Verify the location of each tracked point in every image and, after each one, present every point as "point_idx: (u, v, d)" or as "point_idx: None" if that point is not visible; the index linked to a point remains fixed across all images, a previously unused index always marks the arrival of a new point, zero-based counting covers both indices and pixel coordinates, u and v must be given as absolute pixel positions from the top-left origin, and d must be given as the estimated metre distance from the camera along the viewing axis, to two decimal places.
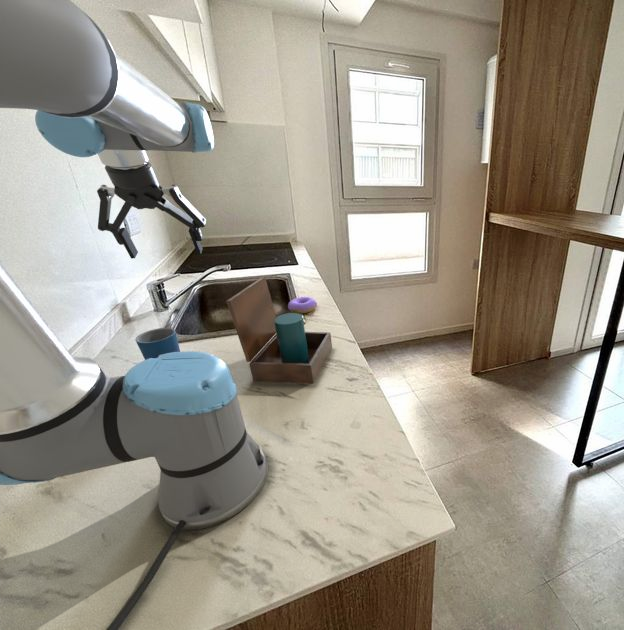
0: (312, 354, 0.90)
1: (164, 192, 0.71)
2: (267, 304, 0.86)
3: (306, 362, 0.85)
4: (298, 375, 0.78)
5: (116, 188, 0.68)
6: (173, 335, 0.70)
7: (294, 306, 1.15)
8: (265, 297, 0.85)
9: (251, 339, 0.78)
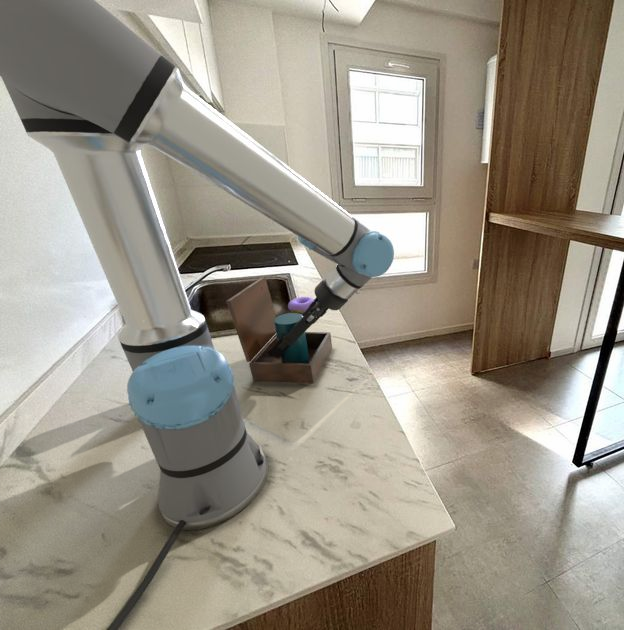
0: (312, 354, 0.90)
1: (313, 311, 0.75)
2: (267, 304, 0.86)
3: (306, 362, 0.85)
4: (298, 375, 0.78)
5: None
6: None
7: (294, 306, 1.15)
8: (265, 297, 0.85)
9: (251, 339, 0.78)
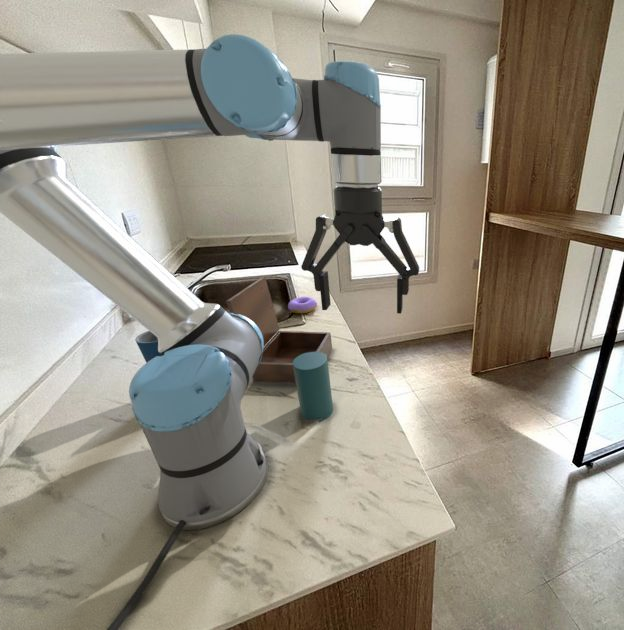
0: None
1: (385, 225, 0.54)
2: (267, 304, 0.86)
3: (330, 411, 0.70)
4: None
5: (336, 216, 0.53)
6: None
7: (294, 306, 1.15)
8: (265, 297, 0.85)
9: None
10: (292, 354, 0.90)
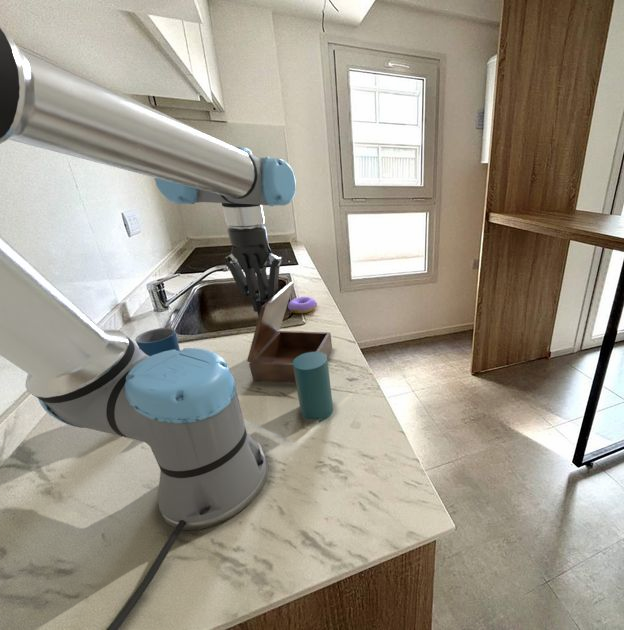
0: None
1: (269, 257, 0.74)
2: (283, 307, 0.86)
3: (330, 411, 0.70)
4: None
5: (233, 248, 0.73)
6: (173, 335, 0.70)
7: (294, 306, 1.15)
8: (285, 301, 0.85)
9: (260, 341, 0.78)
10: (292, 354, 0.90)
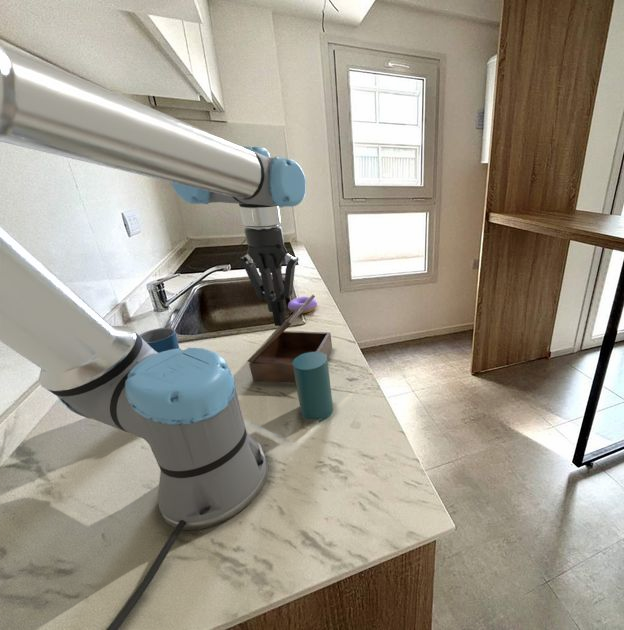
0: None
1: (285, 257, 0.74)
2: None
3: (330, 411, 0.70)
4: None
5: (249, 248, 0.73)
6: (173, 335, 0.70)
7: (294, 306, 1.15)
8: None
9: None
10: (292, 354, 0.90)
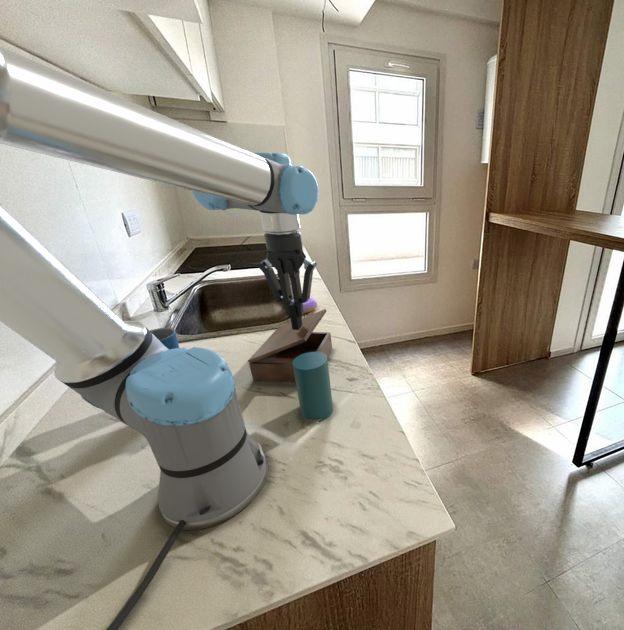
0: None
1: (304, 262, 0.75)
2: None
3: (330, 411, 0.70)
4: None
5: (268, 253, 0.73)
6: (173, 335, 0.70)
7: None
8: None
9: None
10: (292, 354, 0.90)
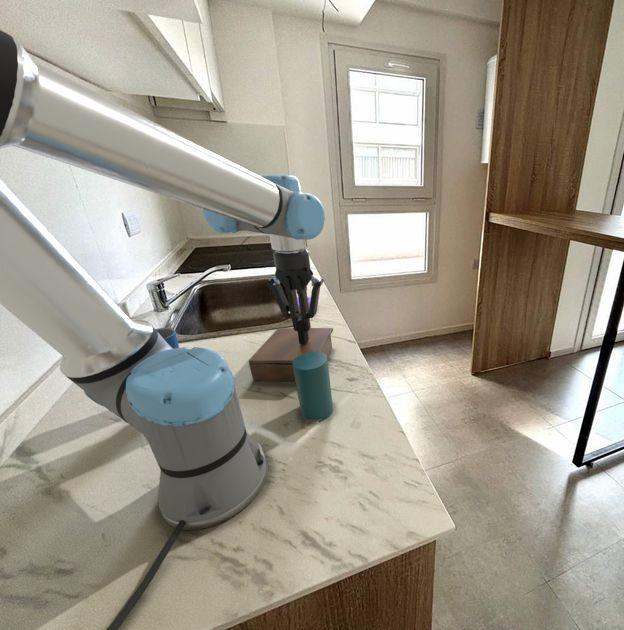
0: None
1: (311, 279, 0.76)
2: None
3: (330, 411, 0.70)
4: None
5: (277, 270, 0.75)
6: (173, 335, 0.70)
7: None
8: None
9: None
10: None
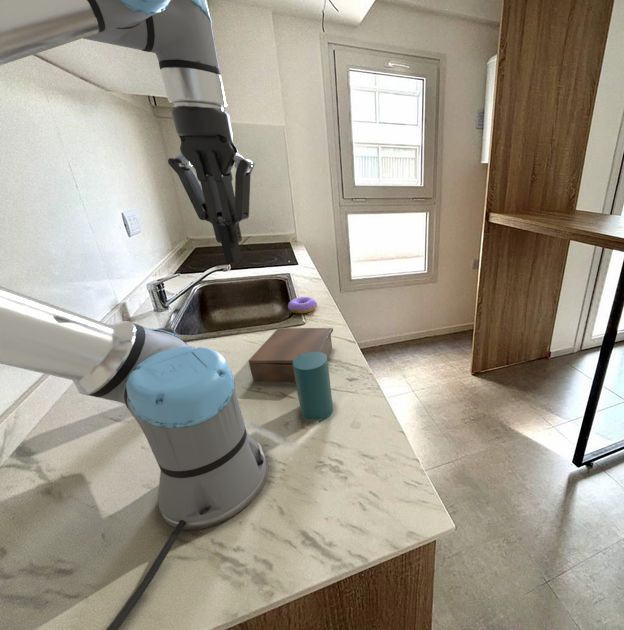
0: None
1: (234, 158, 0.52)
2: None
3: (330, 411, 0.70)
4: None
5: (182, 142, 0.51)
6: None
7: (294, 306, 1.15)
8: None
9: None
10: None
